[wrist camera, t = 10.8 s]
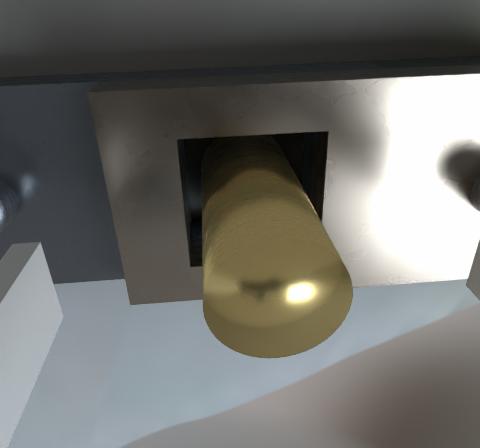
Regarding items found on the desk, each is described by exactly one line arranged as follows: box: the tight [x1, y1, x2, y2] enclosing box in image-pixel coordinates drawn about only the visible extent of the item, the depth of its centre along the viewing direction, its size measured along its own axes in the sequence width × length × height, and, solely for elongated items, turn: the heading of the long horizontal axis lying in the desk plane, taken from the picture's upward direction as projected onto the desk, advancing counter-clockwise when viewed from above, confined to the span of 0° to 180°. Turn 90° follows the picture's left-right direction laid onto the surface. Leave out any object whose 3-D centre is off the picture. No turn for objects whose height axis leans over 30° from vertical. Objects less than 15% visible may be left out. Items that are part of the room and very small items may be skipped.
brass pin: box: [202, 134, 353, 358], centre depth 15 cm, size 4×4×10 cm
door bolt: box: [0, 56, 480, 305], centre depth 17 cm, size 26×9×7 cm, turn 92°
